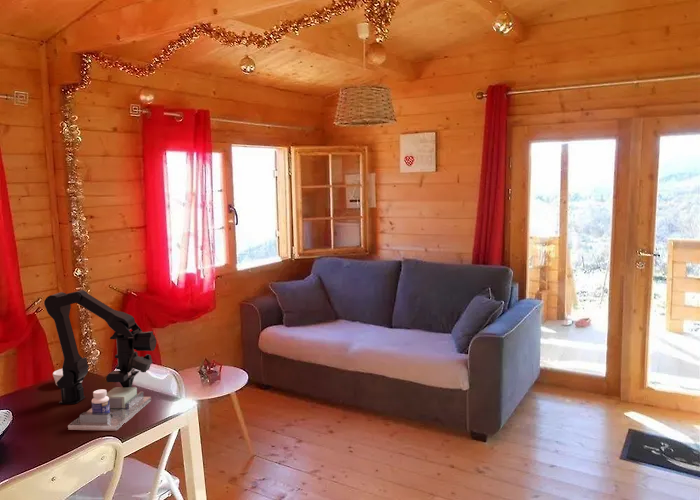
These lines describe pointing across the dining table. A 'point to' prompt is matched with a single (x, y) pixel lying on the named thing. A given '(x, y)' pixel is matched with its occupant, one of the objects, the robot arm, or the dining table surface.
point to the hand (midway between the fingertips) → (128, 392)
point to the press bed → (110, 416)
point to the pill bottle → (100, 401)
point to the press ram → (121, 396)
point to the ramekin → (58, 375)
